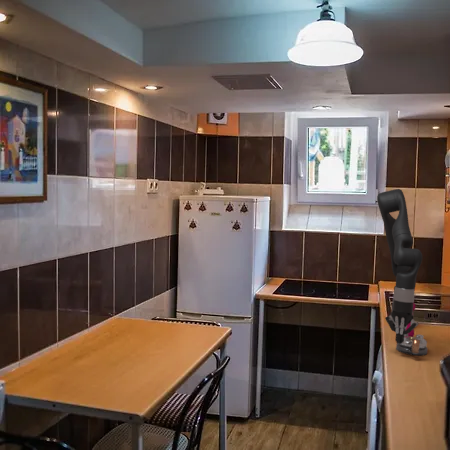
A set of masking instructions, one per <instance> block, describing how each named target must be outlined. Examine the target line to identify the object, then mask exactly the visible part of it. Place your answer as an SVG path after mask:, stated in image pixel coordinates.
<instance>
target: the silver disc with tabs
mask: <svg viewBox="0 0 450 450" xmlns="http://www.w3.org/2000/svg"><path fill="white" fill-rule="evenodd" d="M395 348H396V349H395V350H396V351H398V352H399V353H403V354H405V355H409V356H410V355H411V356H418V357H422V356H426V355H427V354H428V349H429V347H427V346H426V349H424V350H419V353H418V354H417V355H416V354H412V351H411V349H408V348H404V347H402V346H400V345H398V343H397V342H396V346H395Z"/></svg>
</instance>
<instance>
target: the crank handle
mask: <svg viewBox="0 0 450 450" xmlns="http://www.w3.org/2000/svg"><path fill="white" fill-rule="evenodd" d="M424 337H425V336H424V335H423V334H416V336H408V334H405V335H404V342H402V343H401V344H399V343H398V345H400V346H402V347H404V348H408V349H411V351H412V354H416V355H417V354H418V353H419V350H424V349H426V347H427V345H428V341H427V339H424ZM416 355H415V356H416Z"/></svg>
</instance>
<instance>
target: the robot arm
mask: <svg viewBox="0 0 450 450" xmlns="http://www.w3.org/2000/svg"><path fill="white" fill-rule="evenodd" d="M376 200H377V205H378V209H379V211H380V216H381V218H382V222H383V227H384V231H385V236H386V242H387V245H388V249H389V254H390V260H391V269H392V274H393V275H394V277H395V285H394V287H393V296H392V297H393V298H392V308H391V313H390V314H389V316H388V315H387V316H386V317H385V318H384V319H385V322H386V323H387V325H388V326H389V328H390V330H391V331H392V332H394V333H395V338H394V339H395V342H396V344H397V343H399V344H401V343H402V342H404V335H405V334H408V333H410V332H411V331H412V330H413V329H414V330H415V329H416V328H417V327H418V325H419V322H417V321H415V319H414V313H413V312H414V311H413V305H414V303H415V292H416V291H415V290H416V284H417V276H418V272H419V269H420V267H421V265H422V262H423V253H422V251H421V250H420V249H418V248H412V246H413V245H414V240H413V237H412V233H411V229H410V224H409V223H410V222H409V215H408V208H407V201H406V198H405V195H404V191H403V190H402V189H400V188H396V189H391V190H386V191H383V192H380V193H378V194H377V198H376ZM395 212H398V215H397V217H396V219H395V217H393V216H392V214H390V213H395ZM412 313H413V315H412ZM410 322H411V323H410ZM409 323H410V325H411V326H410V327H409V328H408V329H407V330H406V328H407V325H408V324H409Z"/></svg>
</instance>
